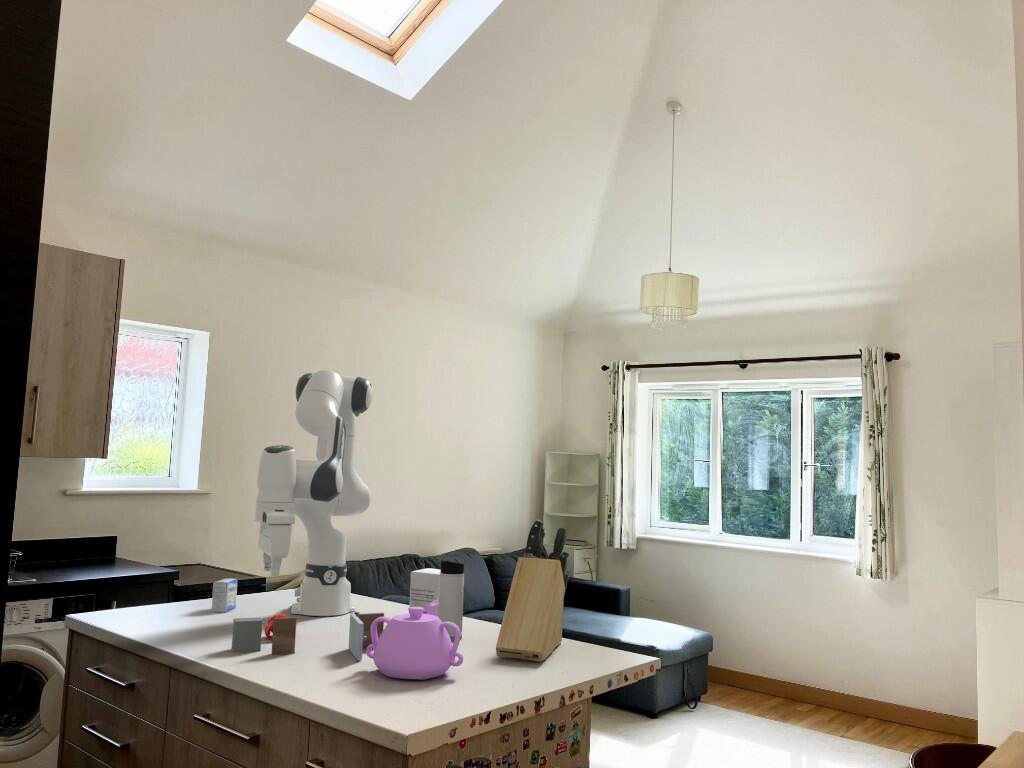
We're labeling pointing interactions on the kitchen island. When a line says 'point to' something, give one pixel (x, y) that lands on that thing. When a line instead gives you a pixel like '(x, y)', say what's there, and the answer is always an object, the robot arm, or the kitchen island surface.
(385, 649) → the teapot
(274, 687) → the kitchen island surface
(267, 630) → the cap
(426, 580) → the supplement box
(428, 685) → the kitchen island surface
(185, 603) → the kitchen island surface
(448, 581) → the travel mug
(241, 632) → the block
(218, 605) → the medicine box
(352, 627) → the door
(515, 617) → the knife block
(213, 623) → the kitchen island surface
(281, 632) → the door frame
